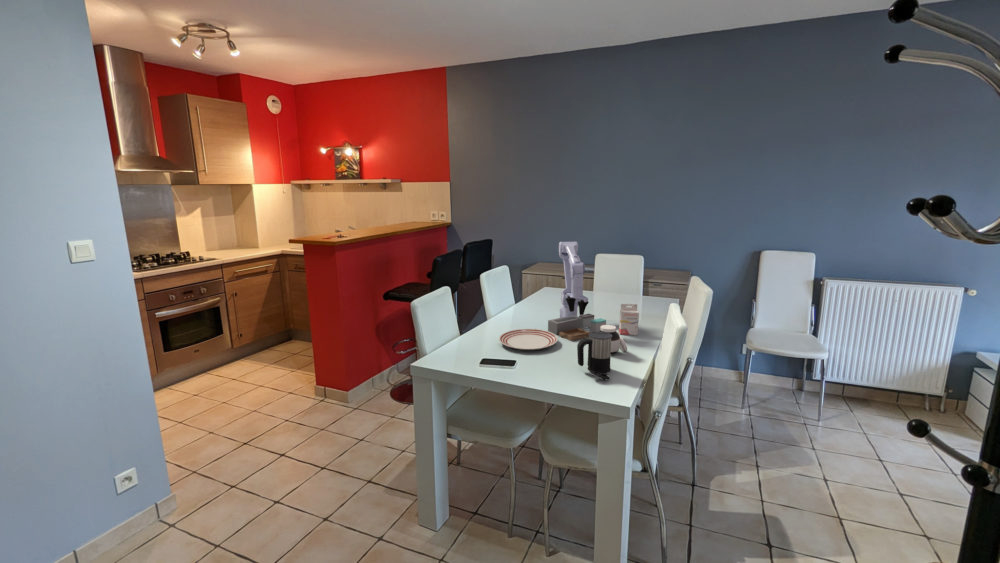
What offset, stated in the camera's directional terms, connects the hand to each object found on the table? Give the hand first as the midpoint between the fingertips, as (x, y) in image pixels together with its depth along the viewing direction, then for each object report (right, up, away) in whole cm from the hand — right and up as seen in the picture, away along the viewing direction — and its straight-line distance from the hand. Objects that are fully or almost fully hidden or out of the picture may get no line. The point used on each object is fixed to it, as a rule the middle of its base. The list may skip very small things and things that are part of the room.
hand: (576, 313), depth 240 cm
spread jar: (+11, -15, -30) cm, 35 cm away
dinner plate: (-26, -14, -18) cm, 34 cm away
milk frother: (0, -21, -54) cm, 58 cm away
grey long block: (-6, -9, +1) cm, 11 cm away
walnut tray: (-2, -11, -8) cm, 14 cm away
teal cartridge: (+11, -9, -1) cm, 14 cm away
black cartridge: (+6, -8, +8) cm, 13 cm away
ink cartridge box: (+25, -10, -5) cm, 27 cm away
